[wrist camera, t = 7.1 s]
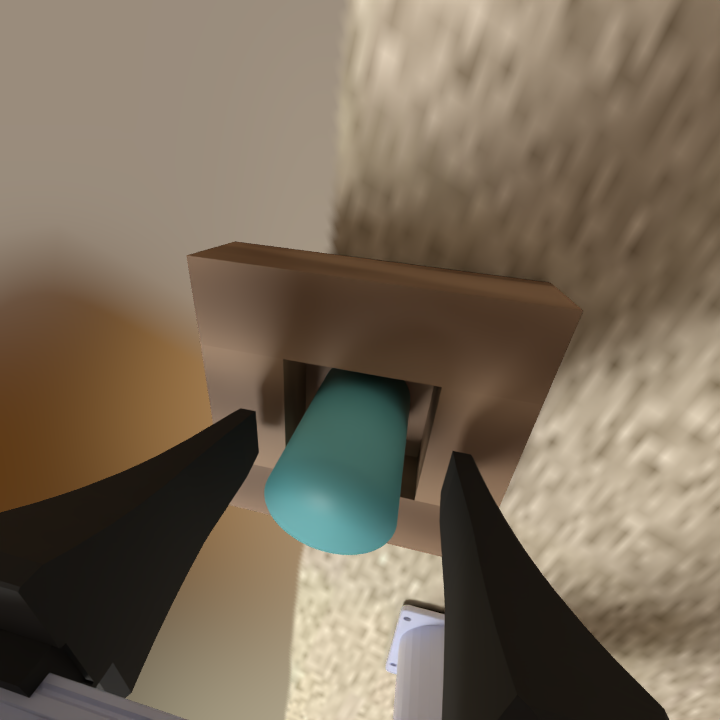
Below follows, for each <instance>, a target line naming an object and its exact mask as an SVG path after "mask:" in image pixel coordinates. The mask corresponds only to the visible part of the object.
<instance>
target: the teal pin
mask: <svg viewBox="0 0 720 720" xmlns="http://www.w3.org/2000/svg"><path fill="white" fill-rule="evenodd" d="M409 409H410V393H409V389H408V386H407V384H406V382H405V381H404V380H399V379H393V378H388V377H382V376H376V375H371V374H365V373H359V372H354V371H348V370H342V369H337V368H332V369H331V370H330V371H329V372H328V374H327V375H326V377H325V379H324V381H323V382H322V384H321V386H320V388H319V389H318V391H317V393H316V395H315V396H314V398H313V400H312V402H311V404H310V405H309V407H308V409H307V411H306V412H305V414H304V416H303V418H302V419H301V421H300V423H299V425H298V426H297V428H296V430H295V432H294V433H293V435H292V437H291V439H290V440H289V442H288V444H287V446H286V448H285V449H284V451H283V453H282V455H281V456H280V458H279V460H278V462H277V463H276V465H275V467H274V469H273V470H272V472H271V474H270V476H269V477H268V479H267V482H266V484H265V489H264V497H265V502H266V505H267V508H268V510H269V512H270V514H271V516H272V517H273V519H274V520H275V521H276V522H277V524H278V525H279V526H280V527H281V528H282V529H283V530H284V531H286V532H287V533H288V534H289V535H291V536H292V537H294V538H295V539H296V540H298V541H300V542H302V543H304V544H306V545H308V546H310V547H312V548H315V549H318V550H321V551H324V552H329V553H333V554H341V555H357V554H364V553H368V552H371V551H374V550H376V549H378V548H380V547H382V546H383V545H385V544H386V543H387V542H388V541H389V540H390V539H391V538H392V536H393V534H394V533H395V530H396V527H397V519H398V510H399V501H400V492H401V483H402V474H403V464H404V455H405V446H406V437H407V428H408V418H409Z"/></svg>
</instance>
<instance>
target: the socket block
mask: <svg viewBox="0 0 720 720" xmlns="http://www.w3.org/2000/svg"><path fill="white" fill-rule="evenodd" d="M187 261H188V268H189V274H190V280H191V287H192V293H193V299H194V305H195V311H196V318H197V324H198V330H199V337H200V342H201V350H202V355H203V362H204V368H205V375H206V381H207V387H208V393H209V399H210V406H211V412H212V419H213V424H215V423H216V422H218V421H220V420H221V419H223V418H224V417H226V416H228V415H229V414H231V413H233V412H235V411H236V410H238V409H240V408H242V409H247V410H252V411H256V420H257V433H258V446H259V454H258V456H257V458H256V460H255V462H254V464H253V466H252V468H251V470H250V472H249V474H248V476H247V478H246V479H245V481H244V482H243V484H242V486H241V487H240V489H239V490H238V492H237V493H236V495H235V496H234V498H233V499H232V501H231V502H230V504H229V505H232V506H235V507H240V508H244V509H248V510H252V511H256V512H260V513H265V514H269V515H271V514H270V512H269V510H268V508H267V505H266V502H265V497H264V489H265V484H266V482H267V479H268V477H269V476H270V474H271V472H272V470H273V469H274V467H275V465H276V463H277V462H278V460H279V458H280V456H281V455H282V453H283V451H284V449H285V448H286V446H287V444H288V442H289V440H290V439H291V437H292V435H293V433H294V432H295V430H296V428H297V426H298V425H299V423H300V421H301V419H302V418H303V416H304V414H305V412H306V411H307V409H308V407H309V405H310V404H311V402H312V400H313V398H314V396H315V395H316V393H317V391H318V389H319V388H320V386H321V384H322V382H323V381H324V379H325V377H326V375H327V374H328V372H329V371H330V370H331V369H332V368H337V369H342V370H348V371H354V372H359V373H365V374H371V375H376V376H382V377H388V378H393V379H399V380H404V381H405V382H406V384H407V386H408V389H409V393H410V409H409V418H408V428H407V437H406V446H405V455H404V464H403V474H402V483H401V492H400V501H399V510H398V519H397V527H396V530H395V533H394V534H393V536H392V538H391V539H390V540H389V541H388V542H387V543H388V544H392V545H396V546H400V547H404V548H408V549H412V550H417V551H421V552H425V553H429V554H433V555H437V556H441V557H442V552H441V538H440V523H439V518H440V495H441V489H442V486H443V482H444V479H445V475H446V472H447V469H448V465H449V462H450V458H451V455H452V451H456V452H461V453H466V454H471V455H472V457H473V458H474V460H475V463H476V465H477V467H478V469H479V471H480V473H481V475H482V477H483V479H484V481H485V483H486V485H487V487H488V489H489V491H490V493H491V495H492V497H493V498H494V500H495V502H496V504H497V506H498V507H499V506H500V504H501V501H502V499H503V497H504V494H505V492H506V490H507V487H508V485H509V483H510V480H511V478H512V476H513V473H514V471H515V469H516V466H517V464H518V462H519V459H520V457H521V455H522V452H523V450H524V448H525V445H526V443H527V441H528V438H529V436H530V434H531V431H532V429H533V427H534V424H535V422H536V420H537V417H538V415H539V413H540V410H541V408H542V406H543V403H544V401H545V399H546V396H547V394H548V392H549V389H550V387H551V385H552V382H553V380H554V378H555V375H556V373H557V371H558V368H559V366H560V364H561V361H562V359H563V357H564V354H565V352H566V350H567V347H568V345H569V343H570V340H571V338H572V336H573V333H574V331H575V329H576V326H577V324H578V322H579V319H580V317H581V315H582V312H583V310H582V309H581V308H579V307H578V306H577V305H576V304H575V303H574V302H572V301H571V300H570V299H569V298H568V297H567V296H565V295H564V294H563V293H562V292H561V291H560V290H558V289H557V288H556V287H555V286H554V285H553V284H552V283H549V282H541V281H533V280H526V279H518V278H510V277H503V276H495V275H487V274H480V273H472V272H464V271H457V270H449V269H442V268H434V267H426V266H419V265H411V264H403V263H396V262H388V261H380V260H373V259H365V258H357V257H350V256H342V255H334V254H327V253H319V252H311V251H304V250H295V249H288V248H281V247H273V246H265V245H258V244H249V243H242V242H232V243H228V244H225V245H221V246H218V247H214V248H211V249H208V250H204V251H200V252H197V253H194V254H190V255H187Z"/></svg>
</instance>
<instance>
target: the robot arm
mask: <svg viewBox="0 0 720 720" xmlns="http://www.w3.org/2000/svg"><path fill="white" fill-rule="evenodd" d="M258 454H259V446H258V433H257V420H256V411H252V410H247V409H242V408H240V409H238V410H236V411H235V412H233V413H231V414H229V415H228V416H226V417H224V418H223V419H221V420H220V421H218V422H216V423H215V424H213V425H211V426H210V427H208V428H206V429H205V430H203V431H201V432H199V433H198V434H196V435H194V436H193V437H191V438H189V439H188V440H186V441H184V442H182V443H180V444H178V445H176V446H175V447H173V448H171V449H169V450H167V451H165V452H164V453H162V454H160V455H158V456H156V457H154V458H152V459H150V460H148V461H145V462H143V463H141V464H139V465H137V466H134V467H132V468H130V469H128V470H126V471H123V472H121V473H118V474H116V475H113V476H111V477H108V478H106V479H103V480H101V481H98V482H95V483H93V484H90V485H88V486H85V487H82V488H80V489H77V490H74V491H71V492H68V493H65V494H62V495H59V496H56V497H53V498H49V499H46V500H43V501H40V502H37V503H33V504H30V505H26V506H23V507H19V508H15V509H12V510H8V511H4V512H1V513H0V720H187V719H184V718H181V717H178V716H175V715H172V714H169V713H166V712H163V711H160V710H158V709H154V708H151V707H149V706H146V705H143V704H140V703H137V702H134V701H131V700H128V699H125V698H126V697H127V696H128V695H129V694H130V693H132V690H133V688H134V686H135V683H136V681H137V679H138V676H139V674H140V672H141V669H142V667H143V665H144V663H145V661H146V659H147V656H148V654H149V652H150V650H151V647H152V645H153V643H154V641H155V639H156V636H157V634H158V632H159V630H160V628H161V626H162V624H163V622H164V620H165V618H166V616H167V614H168V611H169V609H170V607H171V605H172V603H173V601H174V599H175V597H176V595H177V593H178V591H179V589H180V587H181V585H182V583H183V582H184V580H185V577H186V576H187V574H188V572H189V570H190V568H191V566H192V564H193V562H194V560H195V559H196V557H197V555H198V553H199V551H200V549H201V548H202V546H203V544H204V542H205V540H206V539H207V537H208V536H209V534H210V532H211V531H212V529H213V528H214V526H215V525H216V523H217V522H218V520H219V519H220V517H221V516H222V514H223V513H224V511H225V510H226V508H227V507H228V505H229V504H230V502H231V501H232V499H233V498H234V496H235V495H236V493H237V492H238V490H239V489H240V487H241V486H242V484H243V482H244V481H245V479H246V478H247V476H248V474H249V472H250V470H251V468H252V466H253V464H254V462H255V460H256V458H257V456H258ZM439 523H440V538H441V552H442V566H443V580H444V598H445V614H441V613H438V612H434V611H430V610H426V609H423V608H419V607H415V606H411V605H404V606H402V607H401V611H400V614H399V618H398V622H397V625H396V629H395V632H394V636H393V640H392V643H391V647H390V650H389V654H388V658H387V661H386V670H387V671H388V672H390V673H393V674H397V675H396V688H395V701H394V713H393V720H669V718H668V716H667V714H666V712H665V710H664V708H663V707H662V706H661V705H660V704H659V703H658V702H657V701H656V700H655V699H654V698H653V697H652V696H651V695H650V694H649V693H648V692H647V691H646V690H645V689H644V688H643V687H642V686H641V685H640V684H639V683H638V682H637V681H636V680H635V679H634V678H633V677H632V676H631V675H630V674H629V673H628V672H627V671H626V670H625V669H624V668H623V667H622V666H621V665H620V664H619V663H618V662H617V661H616V660H615V659H614V658H613V657H612V656H611V655H610V654H609V652H608V651H607V650H606V649H605V648H604V647H603V646H602V645H601V644H600V643H599V642H598V640H597V639H596V638H595V637H594V636H593V635H592V634H591V633H590V632H589V631H588V629H587V628H586V627H585V626H584V625H583V624H582V623H581V621H580V620H579V619H578V618H577V617H576V615H575V614H574V613H573V612H572V611H571V609H570V608H569V607H568V606H567V605H566V603H565V602H564V601H563V600H562V599H561V597H560V596H559V595H558V594H557V593H556V591H555V590H554V589H553V588H552V586H551V585H550V584H549V582H548V581H547V580H546V578H545V577H544V576H543V575H542V573H541V572H540V571H539V569H538V568H537V566H536V565H535V564H534V562H533V561H532V559H531V558H530V557H529V555H528V554H527V552H526V551H525V549H524V548H523V546H522V545H521V543H520V542H519V540H518V539H517V537H516V536H515V534H514V532H513V531H512V529H511V528H510V526H509V525H508V523H507V521H506V519H505V518H504V516H503V514H502V513H501V511H500V509H499V507H498V506H497V504H496V502H495V500H494V498H493V497H492V495H491V493H490V491H489V489H488V487H487V485H486V483H485V481H484V479H483V477H482V475H481V473H480V471H479V469H478V467H477V465H476V463H475V460H474V458H473V457H472V455H471V454H466V453H461V452H456V451H452V455H451V458H450V462H449V465H448V469H447V472H446V475H445V479H444V482H443V486H442V489H441V495H440V518H439Z"/></svg>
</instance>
